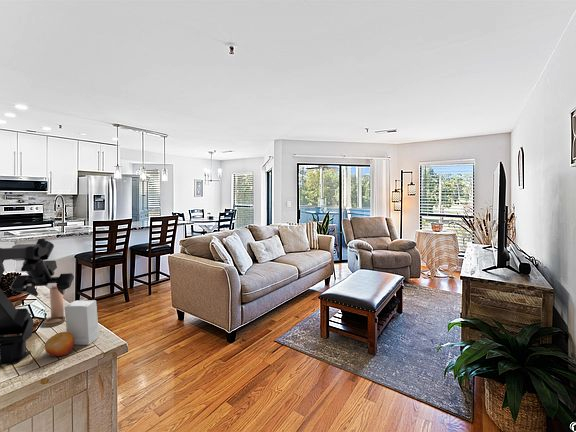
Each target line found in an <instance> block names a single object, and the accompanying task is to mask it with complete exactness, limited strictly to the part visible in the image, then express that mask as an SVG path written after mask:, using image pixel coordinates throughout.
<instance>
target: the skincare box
mask: <svg viewBox="0 0 576 432" xmlns="http://www.w3.org/2000/svg"><path fill="white" fill-rule="evenodd" d="M64 314H65V315H64V317H65V324H66V325H65V327H66V332H70V333H71V334H72V335H73V337H74V345H76V346H77V345H82V346H83V345H84V346H86V345H87V346H89V345H91V344H92V343H94V342H95V341H96V340H97V339H99V338H100V331H99V321H98V320H99V319H98V307H97V300H95V299H92V300H74V301H72V302H70V303H68V304H67V305H65V306H64ZM74 345H73V346H74Z"/></svg>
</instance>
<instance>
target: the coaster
mask: <svg viewBox="0 0 576 432" xmlns="http://www.w3.org/2000/svg"><path fill="white" fill-rule="evenodd" d="M64 323H66V316H65V315H64V316H56V317H51V316H50V317H48V318H46V319H45V320H44V321H43V325H44V326H45V327H55V326H60V325H61V324H64Z"/></svg>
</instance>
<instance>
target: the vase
mask: <svg viewBox="0 0 576 432" xmlns="http://www.w3.org/2000/svg"><path fill="white" fill-rule="evenodd" d="M57 289H58V288H57V284H54V285H51V287H50V288H49V296H50V297H49V301H50V318H51V317H56V316H64V317H65V315H64V314H65V307H64V295H62V294H61V293H60V292H59V291H58V290H57Z"/></svg>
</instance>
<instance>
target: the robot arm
mask: <svg viewBox="0 0 576 432" xmlns="http://www.w3.org/2000/svg"><path fill="white" fill-rule="evenodd" d="M54 247H55V245H54V243H52V242H51V241H49V240H46V239H45V238H38V239H37V241H36V243H30V244H29V243H28V244H27V243H25V244H24V243H22V244H15V245H13V246H11V247H7V248H6V247H3V248H2V247H0V281H1V279H2V276H3V274H4V273H5V269H6V268H5V266H4V261H8V260H9V261H10V260H13V261H19V262H21V261H23V262H22V266H21V270H20V271H21V272H26V273H27V274H22V275H16V277H15V278H14V280H13V282H12V283H11V284H10V288H11V290H12V291H13V292H17V293H23V294H27V295H31V296H33V297H38V295H39V293H38V290H37V289H36V287H45V286H48V284H56V285H57V288H58V289H57V290H58V291H59V292H60V293H61V294H62V295H63V296H64V295H65V293H66V290H67V289H69V288H71V285H72V283H73V281H74V278H75V276H74V274H73V273H72V272H69V273H67V272H66V273H65V272H64V273H60V275H59V276H54V275H55V270H56V269H57V268H58V266H57V261H56V260H49V258H50V255H51V254H52V251H53V249H54ZM31 315H32V313H30V311H29V310H28V309H27V308H26V307H25V308H16V307H15V306H14V304H13V303H12V301H11V300H10V299H9V298H8V296H7V295H6V294H5V293H4V291H3V290H2V288H1V287H0V365H5V364H6V365H10V364H11V365H12V364H17V363H19V362H20V361H22V360H23V359H25V358H26V357H27V356H29V355H30V354H32V353H31V352H32V351H30V350H29V351H27V344H26V343H27V341H28V340H29V339H30V338H31V337H32V336H33V330H34V319H33V318H32V316H31Z"/></svg>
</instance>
